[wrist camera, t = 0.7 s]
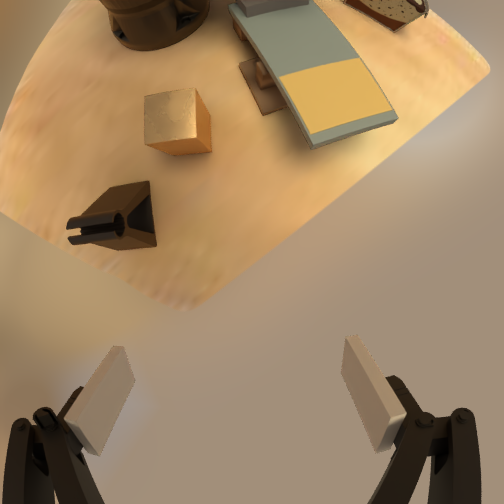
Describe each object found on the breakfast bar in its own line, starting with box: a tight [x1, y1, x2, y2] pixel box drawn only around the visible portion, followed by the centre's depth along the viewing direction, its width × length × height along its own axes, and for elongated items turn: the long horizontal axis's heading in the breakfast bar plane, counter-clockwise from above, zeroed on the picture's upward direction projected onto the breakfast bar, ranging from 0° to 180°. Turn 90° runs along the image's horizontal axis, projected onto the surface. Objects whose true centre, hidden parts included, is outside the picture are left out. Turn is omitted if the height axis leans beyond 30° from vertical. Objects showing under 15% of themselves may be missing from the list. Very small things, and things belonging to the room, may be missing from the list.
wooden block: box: [144, 88, 212, 156], centre depth 28 cm, size 5×5×11 cm
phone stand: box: [66, 181, 157, 251], centre depth 30 cm, size 9×6×12 cm, turn 4°
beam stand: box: [233, 18, 289, 115], centre depth 27 cm, size 15×13×6 cm
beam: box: [228, 0, 398, 150], centre depth 23 cm, size 22×10×4 cm, turn 23°
